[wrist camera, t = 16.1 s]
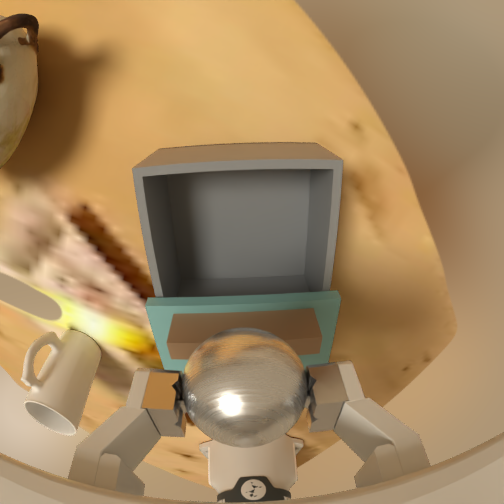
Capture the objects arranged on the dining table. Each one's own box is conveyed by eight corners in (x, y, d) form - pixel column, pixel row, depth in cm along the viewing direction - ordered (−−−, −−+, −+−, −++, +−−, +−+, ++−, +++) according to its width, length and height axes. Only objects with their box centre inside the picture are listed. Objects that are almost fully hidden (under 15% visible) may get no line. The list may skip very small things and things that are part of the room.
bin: (308, 276, 30) (324, 323, 24) (177, 281, 30) (164, 329, 24) (316, 142, 24) (343, 160, 18) (158, 149, 24) (132, 168, 18)
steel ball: (301, 299, 10) (328, 399, 6) (293, 375, 12) (308, 460, 8) (180, 303, 10) (159, 404, 6) (196, 378, 12) (189, 464, 8)
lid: (316, 398, 29) (322, 429, 25) (180, 403, 28) (176, 435, 25) (337, 290, 22) (353, 326, 19) (148, 297, 22) (135, 334, 18)
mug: (112, 363, 36) (88, 438, 25) (75, 364, 36) (48, 432, 26) (75, 304, 31) (32, 381, 20) (38, 309, 31) (-5, 378, 21)
